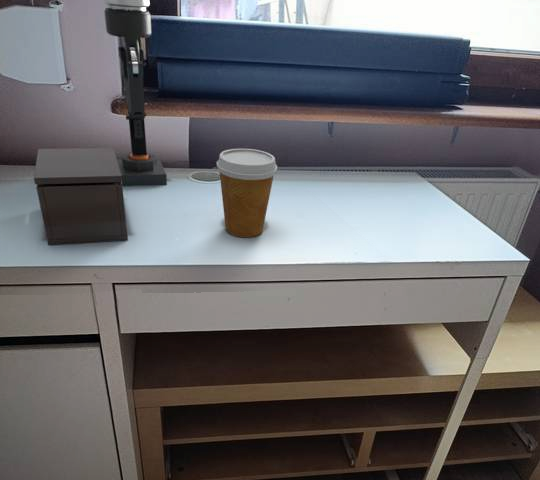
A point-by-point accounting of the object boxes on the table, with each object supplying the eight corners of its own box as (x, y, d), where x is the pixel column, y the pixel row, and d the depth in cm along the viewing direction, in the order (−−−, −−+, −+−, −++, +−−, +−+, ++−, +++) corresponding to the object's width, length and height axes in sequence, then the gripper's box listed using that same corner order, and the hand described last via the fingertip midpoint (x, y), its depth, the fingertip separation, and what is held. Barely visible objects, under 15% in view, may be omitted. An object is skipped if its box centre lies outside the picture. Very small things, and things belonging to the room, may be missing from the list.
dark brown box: (128, 240, 79) (122, 184, 73) (48, 245, 75) (36, 186, 70) (120, 205, 89) (114, 153, 84) (50, 208, 86) (39, 154, 81)
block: (115, 169, 104) (113, 149, 101) (159, 168, 106) (158, 149, 104) (119, 186, 96) (117, 165, 94) (167, 185, 99) (166, 164, 97)
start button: (129, 161, 101) (128, 152, 100) (147, 161, 102) (147, 152, 101) (131, 167, 98) (130, 158, 97) (150, 167, 99) (149, 158, 98)
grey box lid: (122, 182, 72) (121, 175, 72) (34, 184, 69) (33, 177, 69) (114, 153, 84) (113, 147, 83) (39, 154, 81) (38, 148, 80)
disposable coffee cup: (260, 216, 90) (265, 146, 83) (280, 239, 83) (287, 165, 76) (209, 220, 87) (209, 148, 80) (225, 244, 80) (226, 167, 73)
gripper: (155, 13, 80) (163, 164, 95) (145, 6, 90) (154, 144, 104) (106, 9, 78) (122, 165, 93) (101, 3, 88) (116, 144, 102)
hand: (139, 154), depth 99 cm, fingers closed
